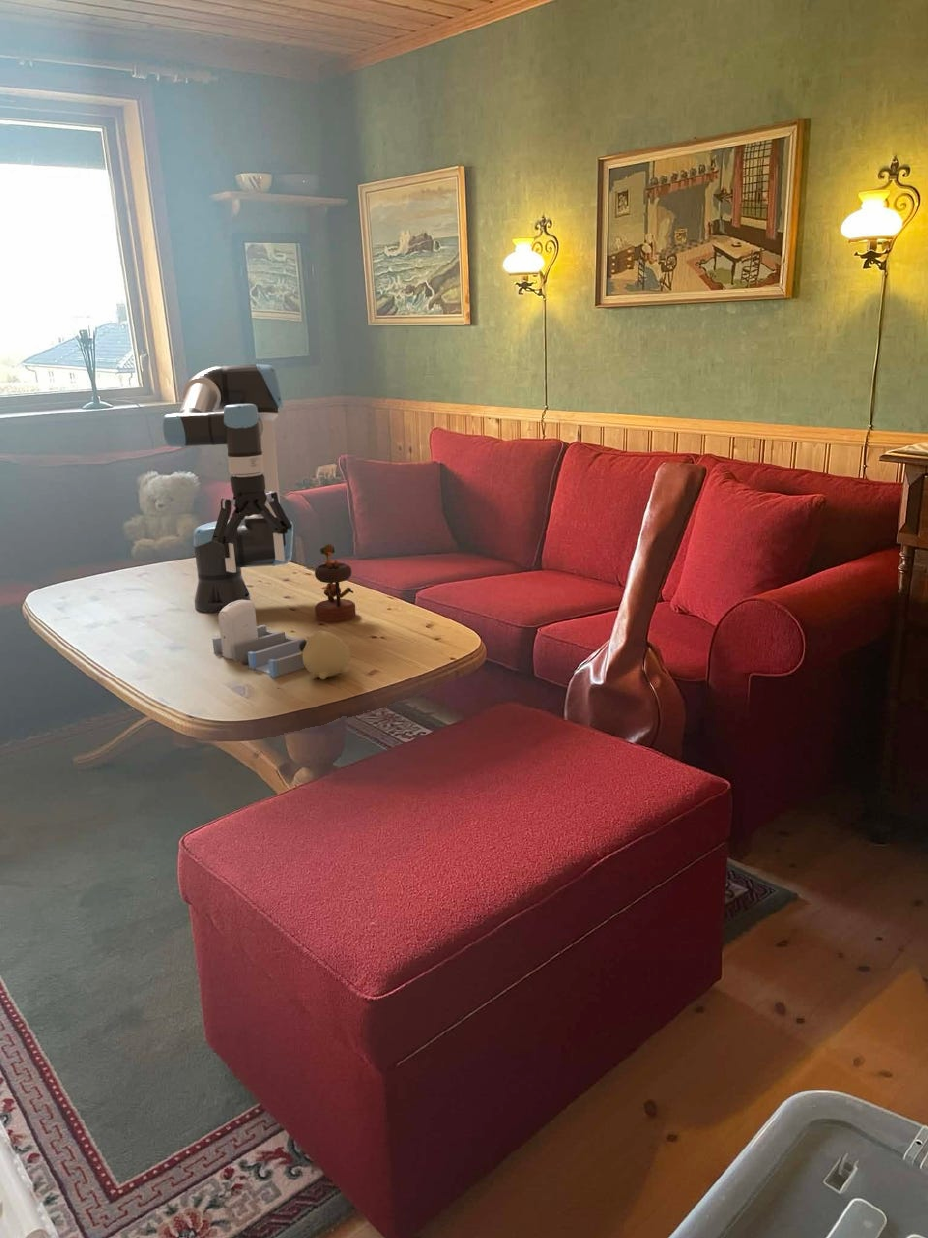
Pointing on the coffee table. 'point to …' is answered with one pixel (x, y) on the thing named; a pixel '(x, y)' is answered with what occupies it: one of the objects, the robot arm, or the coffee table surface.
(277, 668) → the grey shelf rack
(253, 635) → the photo printer
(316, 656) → the tan frog figure
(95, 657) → the coffee table surface
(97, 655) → the coffee table surface
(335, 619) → the music box
